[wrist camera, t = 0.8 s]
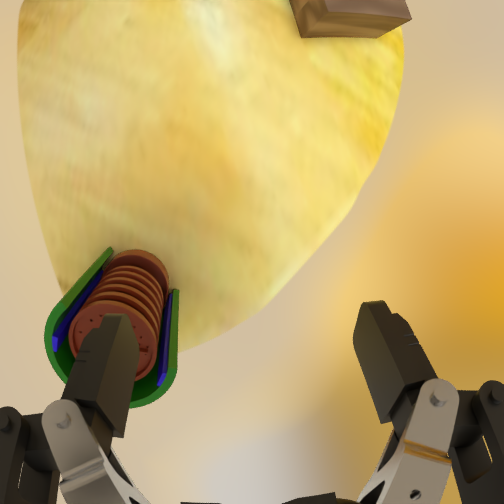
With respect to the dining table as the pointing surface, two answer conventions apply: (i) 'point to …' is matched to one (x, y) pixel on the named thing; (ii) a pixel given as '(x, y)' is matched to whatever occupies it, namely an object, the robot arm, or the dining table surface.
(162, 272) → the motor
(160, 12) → the dining table surface
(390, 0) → the housing
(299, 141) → the dining table surface
